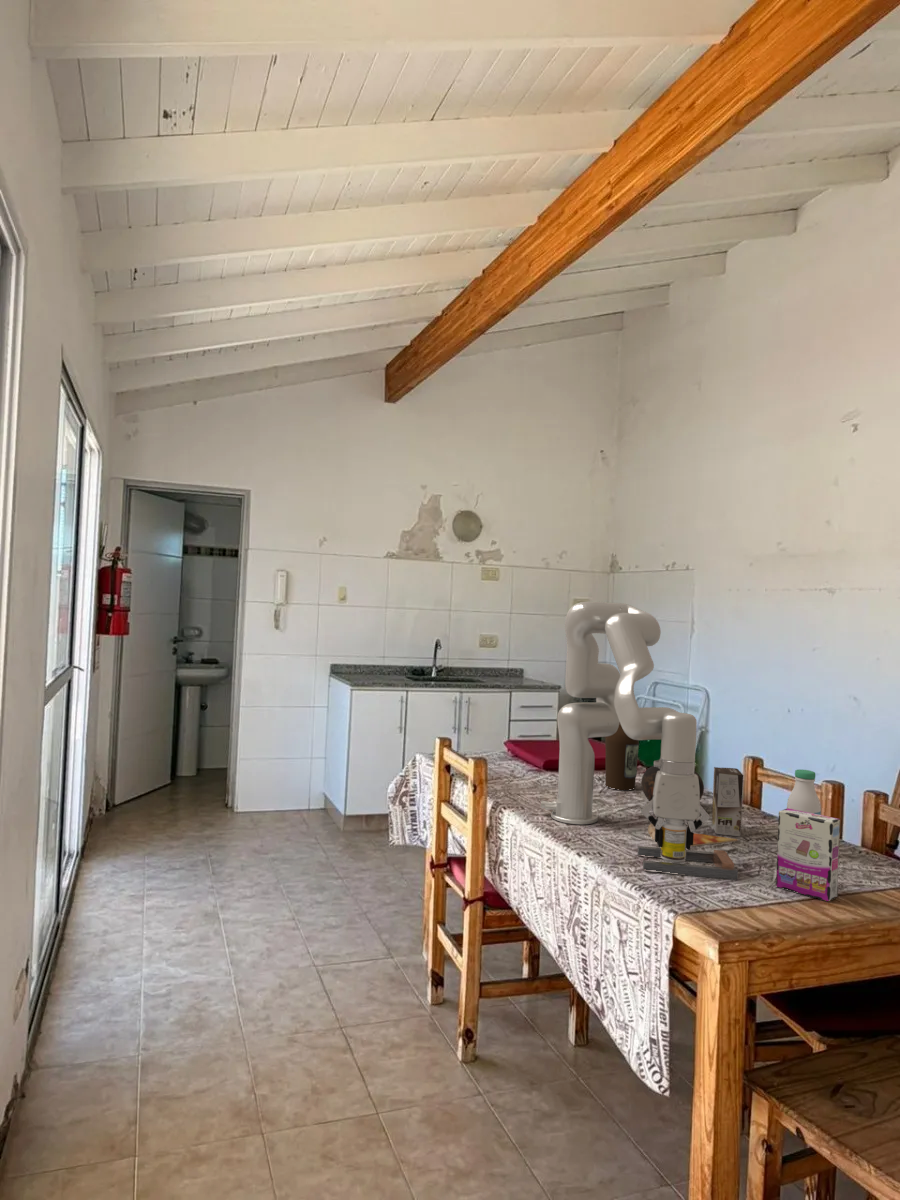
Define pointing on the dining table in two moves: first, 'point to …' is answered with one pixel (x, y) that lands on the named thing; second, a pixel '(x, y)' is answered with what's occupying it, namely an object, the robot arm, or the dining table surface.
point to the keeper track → (717, 857)
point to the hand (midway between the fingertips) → (673, 845)
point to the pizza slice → (698, 838)
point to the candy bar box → (808, 853)
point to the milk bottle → (804, 793)
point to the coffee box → (727, 801)
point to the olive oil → (621, 760)
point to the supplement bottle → (674, 840)
